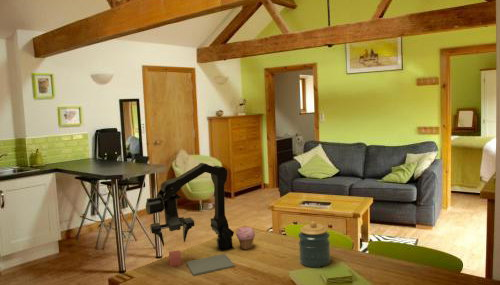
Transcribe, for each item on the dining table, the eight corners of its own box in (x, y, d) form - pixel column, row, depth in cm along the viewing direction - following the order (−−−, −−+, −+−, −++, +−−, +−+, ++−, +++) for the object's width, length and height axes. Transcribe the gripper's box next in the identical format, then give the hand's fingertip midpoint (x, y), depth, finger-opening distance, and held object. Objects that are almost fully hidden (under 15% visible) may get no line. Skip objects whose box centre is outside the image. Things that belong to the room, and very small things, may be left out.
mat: (225, 255, 187) (225, 253, 187) (234, 266, 174) (234, 265, 174) (186, 263, 181) (186, 261, 180) (193, 275, 168) (193, 274, 167)
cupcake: (234, 246, 197) (233, 226, 196) (250, 242, 200) (249, 223, 199) (242, 252, 189) (240, 231, 188) (258, 248, 192) (257, 228, 191)
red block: (180, 258, 187) (179, 250, 187) (181, 265, 180) (180, 256, 179) (169, 260, 186) (168, 251, 186) (170, 267, 179) (169, 258, 178)
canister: (330, 268, 166) (328, 226, 164) (298, 267, 169) (296, 226, 167) (330, 255, 179) (329, 216, 177) (301, 255, 181) (299, 216, 179)
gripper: (151, 218, 169) (155, 254, 171) (195, 210, 176) (198, 245, 178) (148, 211, 180) (151, 245, 182) (190, 204, 186) (193, 237, 188)
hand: (174, 243), depth 182 cm, fingers open, 9 cm apart
